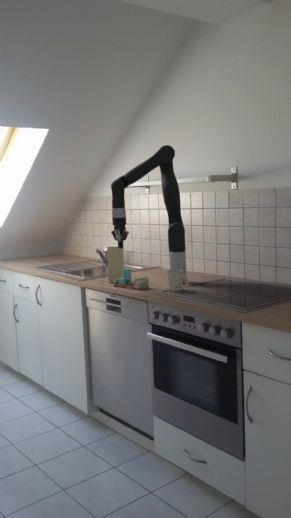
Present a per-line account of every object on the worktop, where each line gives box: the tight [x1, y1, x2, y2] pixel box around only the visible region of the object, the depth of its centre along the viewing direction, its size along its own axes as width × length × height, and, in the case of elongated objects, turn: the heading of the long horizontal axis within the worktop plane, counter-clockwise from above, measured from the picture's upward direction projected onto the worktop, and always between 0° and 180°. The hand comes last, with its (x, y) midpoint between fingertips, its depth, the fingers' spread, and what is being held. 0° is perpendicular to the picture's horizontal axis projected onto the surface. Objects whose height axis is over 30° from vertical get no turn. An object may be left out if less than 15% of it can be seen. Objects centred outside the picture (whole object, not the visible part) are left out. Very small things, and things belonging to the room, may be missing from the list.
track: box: [113, 276, 150, 291], centre depth 277 cm, size 20×8×6 cm, turn 42°
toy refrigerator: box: [106, 244, 125, 284], centre depth 295 cm, size 8×7×21 cm
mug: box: [166, 269, 190, 292], centre depth 261 cm, size 8×13×10 cm, turn 51°
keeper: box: [118, 268, 132, 284], centre depth 280 cm, size 5×5×8 cm
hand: (120, 248), depth 280 cm, fingers closed
